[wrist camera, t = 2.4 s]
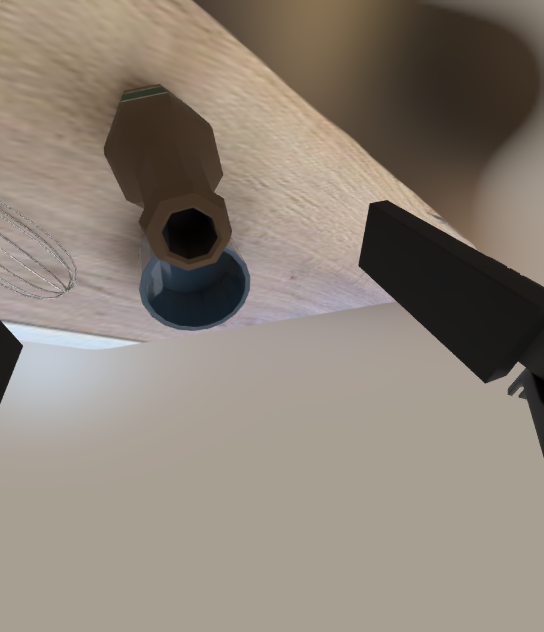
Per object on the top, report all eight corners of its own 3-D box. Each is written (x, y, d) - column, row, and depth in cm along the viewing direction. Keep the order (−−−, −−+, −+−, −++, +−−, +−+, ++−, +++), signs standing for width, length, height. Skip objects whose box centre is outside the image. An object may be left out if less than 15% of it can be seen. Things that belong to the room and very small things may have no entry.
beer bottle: (213, 143, 31) (309, 246, 14) (157, 189, 32) (183, 338, 15) (158, 59, 26) (206, 60, 9) (92, 117, 27) (17, 222, 9)
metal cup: (121, 270, 36) (119, 309, 31) (170, 189, 32) (177, 217, 27) (203, 304, 44) (213, 341, 38) (250, 242, 40) (269, 272, 34)
